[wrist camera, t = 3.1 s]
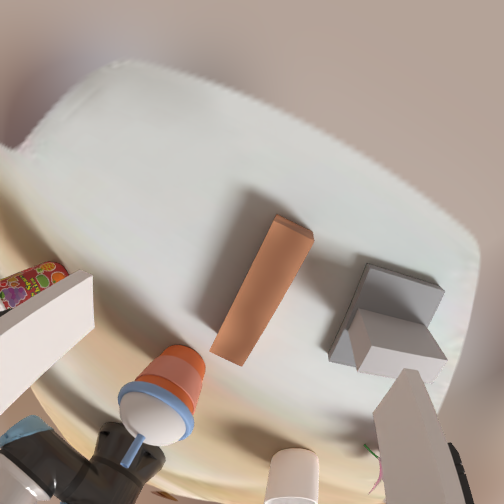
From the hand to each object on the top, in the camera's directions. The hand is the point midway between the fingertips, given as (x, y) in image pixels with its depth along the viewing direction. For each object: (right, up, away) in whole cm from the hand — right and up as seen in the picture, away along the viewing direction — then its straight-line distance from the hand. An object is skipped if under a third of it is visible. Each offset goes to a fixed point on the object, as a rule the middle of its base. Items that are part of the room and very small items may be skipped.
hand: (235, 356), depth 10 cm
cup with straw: (-8, -11, +26) cm, 29 cm away
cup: (+8, -33, +30) cm, 46 cm away
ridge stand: (+16, -4, +20) cm, 26 cm away
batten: (+2, 0, +21) cm, 21 cm away
